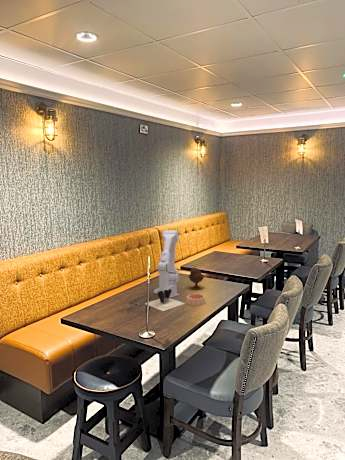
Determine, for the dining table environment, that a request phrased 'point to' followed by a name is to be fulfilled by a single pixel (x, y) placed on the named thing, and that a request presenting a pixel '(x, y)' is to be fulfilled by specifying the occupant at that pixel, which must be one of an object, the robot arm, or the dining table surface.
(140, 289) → the dining table surface
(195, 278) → the brown miniature tree
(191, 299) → the bowl
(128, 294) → the dining table surface
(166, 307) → the mat
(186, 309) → the dining table surface
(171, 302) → the lid
